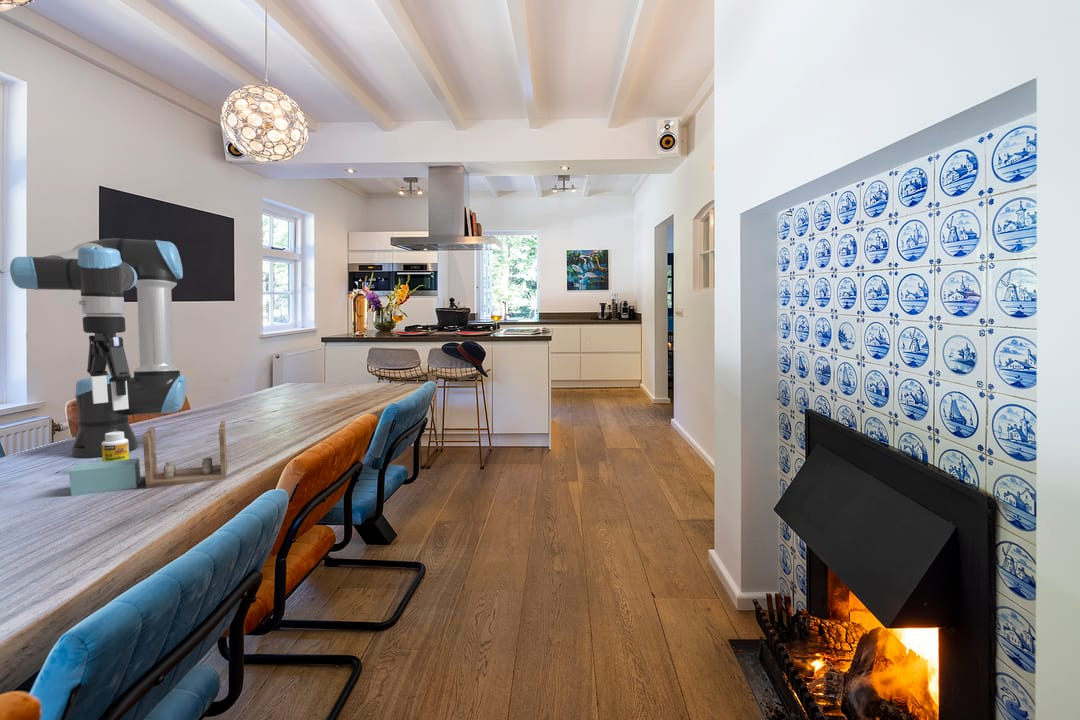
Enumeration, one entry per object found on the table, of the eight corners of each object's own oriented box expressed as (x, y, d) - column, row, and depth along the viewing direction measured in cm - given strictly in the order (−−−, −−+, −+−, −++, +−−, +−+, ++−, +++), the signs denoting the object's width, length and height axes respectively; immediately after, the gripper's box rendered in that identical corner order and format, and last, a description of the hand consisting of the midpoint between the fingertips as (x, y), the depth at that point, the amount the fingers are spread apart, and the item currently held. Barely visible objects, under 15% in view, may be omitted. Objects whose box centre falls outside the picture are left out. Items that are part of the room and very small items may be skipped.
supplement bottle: (101, 474, 134) (99, 436, 133) (105, 469, 139) (102, 432, 138) (129, 471, 137) (126, 433, 136) (131, 466, 142) (128, 429, 141)
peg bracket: (153, 476, 133) (149, 427, 132) (227, 467, 141) (225, 421, 140) (146, 488, 124) (142, 435, 123) (225, 478, 132) (223, 428, 131)
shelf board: (78, 488, 124) (76, 464, 124) (140, 481, 130) (139, 458, 130) (71, 496, 119) (69, 471, 119) (136, 488, 125) (134, 464, 125)
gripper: (66, 314, 123) (73, 402, 125) (101, 316, 109) (108, 415, 111) (105, 314, 129) (111, 398, 131) (144, 316, 115) (150, 409, 117)
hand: (110, 406), depth 121 cm, fingers open, 13 cm apart
